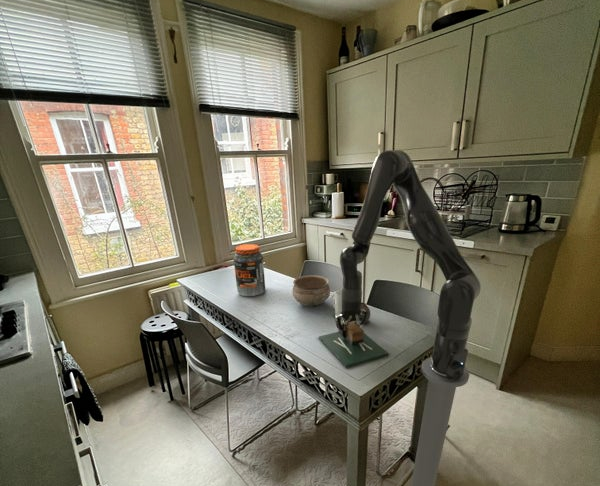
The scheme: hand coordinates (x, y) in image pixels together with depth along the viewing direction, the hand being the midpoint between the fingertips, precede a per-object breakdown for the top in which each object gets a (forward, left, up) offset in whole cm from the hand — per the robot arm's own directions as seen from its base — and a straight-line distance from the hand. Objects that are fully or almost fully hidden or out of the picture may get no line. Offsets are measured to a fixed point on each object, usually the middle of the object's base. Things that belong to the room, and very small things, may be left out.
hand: (350, 335), depth 128 cm
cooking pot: (+38, 0, -2) cm, 38 cm away
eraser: (0, 0, -1) cm, 1 cm away
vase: (+11, -13, -2) cm, 17 cm away
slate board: (-5, +2, -2) cm, 6 cm away
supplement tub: (+68, +23, -2) cm, 72 cm away
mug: (+21, -7, -2) cm, 22 cm away
